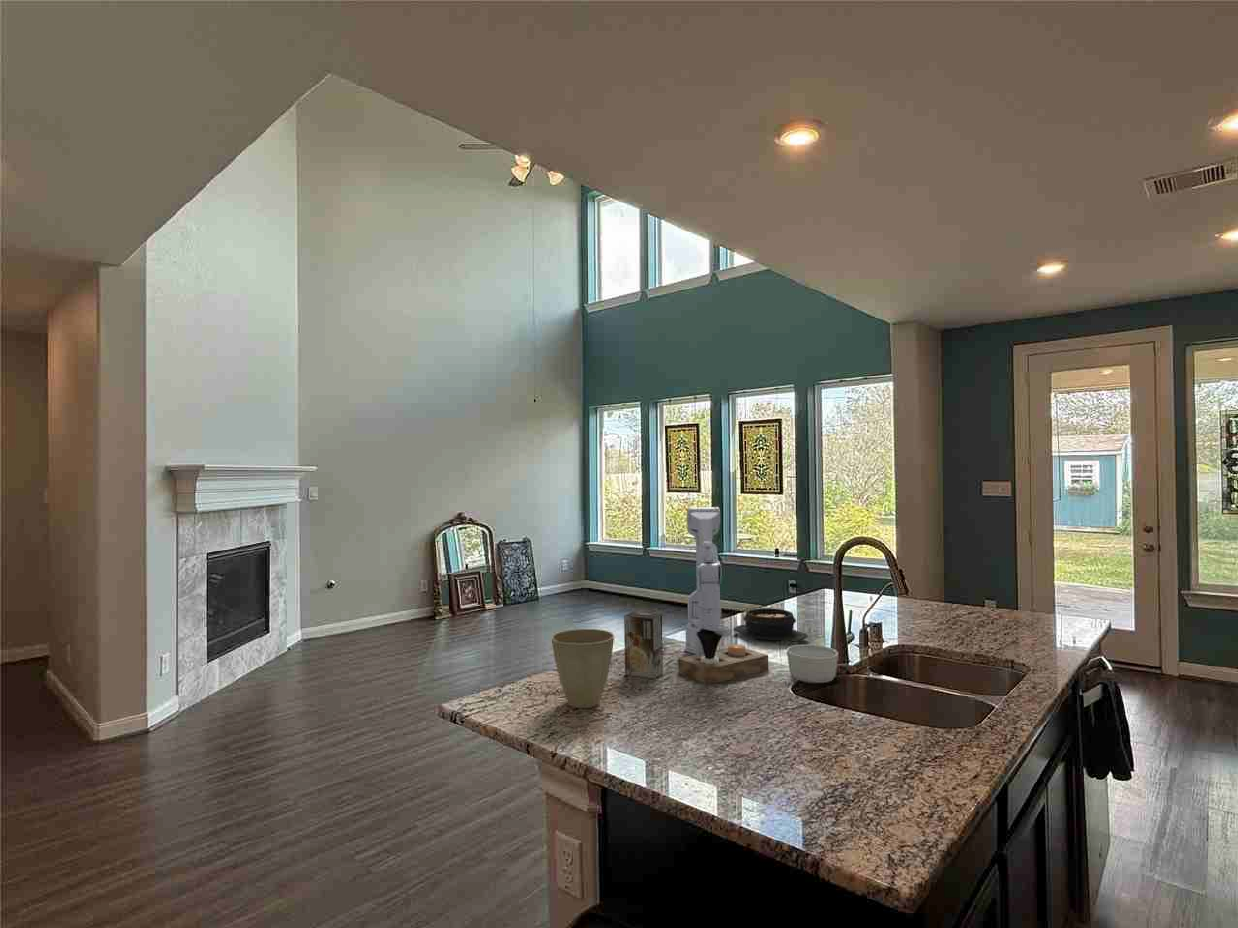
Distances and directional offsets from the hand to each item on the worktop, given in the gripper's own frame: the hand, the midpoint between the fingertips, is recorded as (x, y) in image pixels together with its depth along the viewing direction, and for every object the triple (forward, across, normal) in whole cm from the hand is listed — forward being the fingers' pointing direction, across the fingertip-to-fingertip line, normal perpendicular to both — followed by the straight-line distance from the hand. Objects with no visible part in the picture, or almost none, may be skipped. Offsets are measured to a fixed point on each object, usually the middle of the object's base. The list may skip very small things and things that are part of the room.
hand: (709, 658), depth 176 cm
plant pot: (+5, -1, -39) cm, 39 cm away
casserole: (+5, -18, +42) cm, 46 cm away
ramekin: (+5, +17, +21) cm, 27 cm away
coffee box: (+5, -11, -14) cm, 18 cm away
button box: (+4, 0, +5) cm, 7 cm away
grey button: (+3, 0, 0) cm, 3 cm away
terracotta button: (+2, 0, +10) cm, 10 cm away
